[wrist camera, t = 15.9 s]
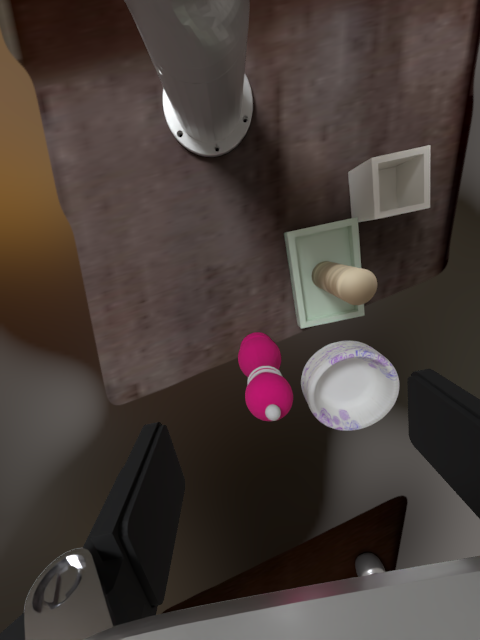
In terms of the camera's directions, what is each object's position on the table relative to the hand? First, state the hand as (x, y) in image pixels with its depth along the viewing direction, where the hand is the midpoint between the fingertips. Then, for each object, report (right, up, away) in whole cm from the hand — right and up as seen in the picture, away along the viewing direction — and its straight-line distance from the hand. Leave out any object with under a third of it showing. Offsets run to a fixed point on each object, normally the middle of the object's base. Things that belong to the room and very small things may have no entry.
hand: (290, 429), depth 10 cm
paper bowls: (+17, -6, +40) cm, 44 cm away
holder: (+19, +24, +31) cm, 44 cm away
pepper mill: (+1, -1, +38) cm, 38 cm away
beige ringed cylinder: (+12, +12, +34) cm, 38 cm away
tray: (+12, +12, +35) cm, 39 cm away
